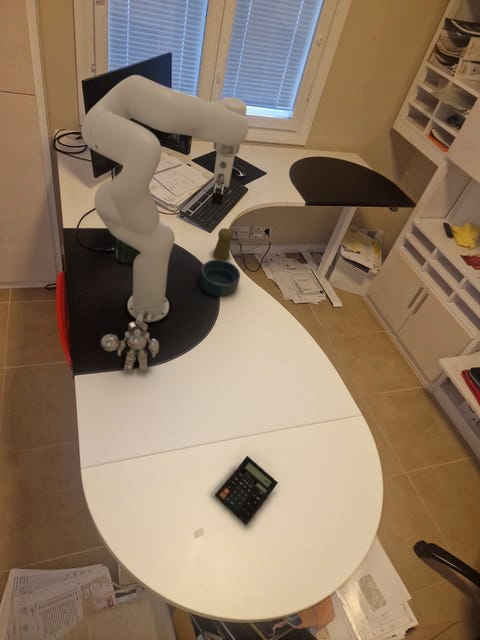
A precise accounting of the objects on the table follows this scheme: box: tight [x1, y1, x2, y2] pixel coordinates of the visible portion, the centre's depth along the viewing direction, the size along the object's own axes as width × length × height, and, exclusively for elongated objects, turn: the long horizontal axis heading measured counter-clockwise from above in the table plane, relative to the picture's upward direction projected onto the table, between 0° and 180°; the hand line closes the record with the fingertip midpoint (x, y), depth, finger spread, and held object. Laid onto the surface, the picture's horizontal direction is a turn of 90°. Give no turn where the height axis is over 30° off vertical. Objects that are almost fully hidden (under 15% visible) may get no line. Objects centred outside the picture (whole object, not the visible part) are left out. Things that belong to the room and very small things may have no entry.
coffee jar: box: [115, 238, 140, 265], centre depth 135 cm, size 10×8×19 cm
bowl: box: [199, 259, 241, 297], centre depth 139 cm, size 13×13×6 cm
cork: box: [212, 227, 234, 261], centre depth 148 cm, size 6×6×11 cm
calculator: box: [214, 455, 279, 526], centre depth 95 cm, size 9×12×3 cm
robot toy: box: [100, 321, 160, 373], centre depth 107 cm, size 15×6×15 cm, turn 96°
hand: (218, 195), depth 133 cm, fingers open, 9 cm apart
